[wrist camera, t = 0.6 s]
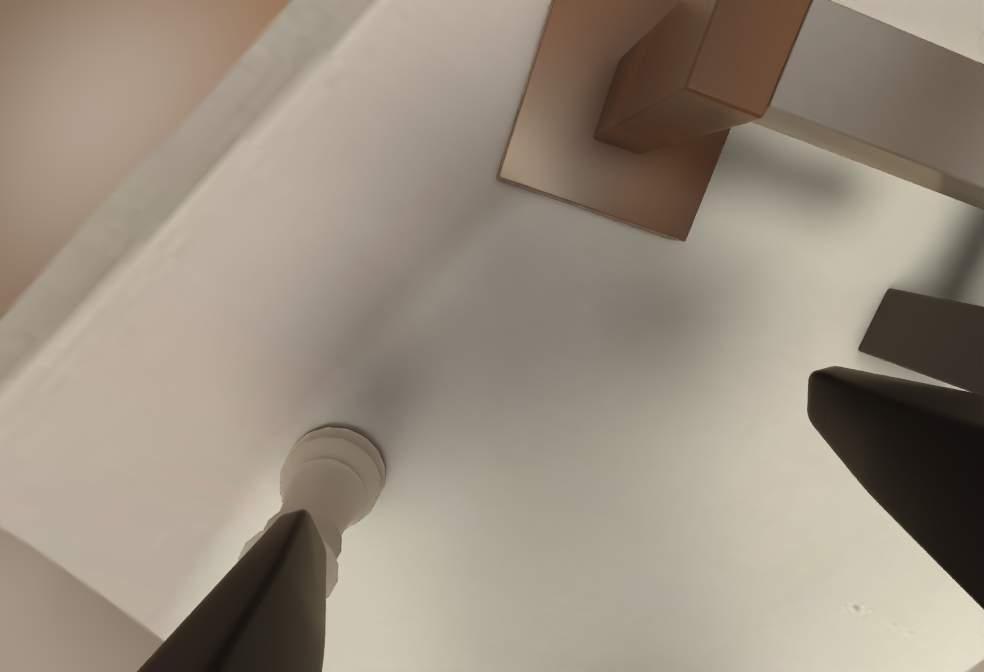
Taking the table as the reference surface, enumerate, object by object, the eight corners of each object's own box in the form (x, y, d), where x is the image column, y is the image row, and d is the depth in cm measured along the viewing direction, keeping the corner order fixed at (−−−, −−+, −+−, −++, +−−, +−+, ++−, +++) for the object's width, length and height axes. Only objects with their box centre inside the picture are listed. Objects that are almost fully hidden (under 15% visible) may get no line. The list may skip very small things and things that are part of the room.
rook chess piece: (406, 460, 24) (379, 579, 17) (348, 528, 25) (296, 672, 17) (326, 403, 24) (258, 500, 16) (268, 475, 24) (176, 601, 17)
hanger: (894, 100, 22) (1240, 14, 12) (808, 285, 23) (1051, 342, 14) (562, -32, 20) (652, -256, 10) (496, 178, 22) (519, 156, 12)
